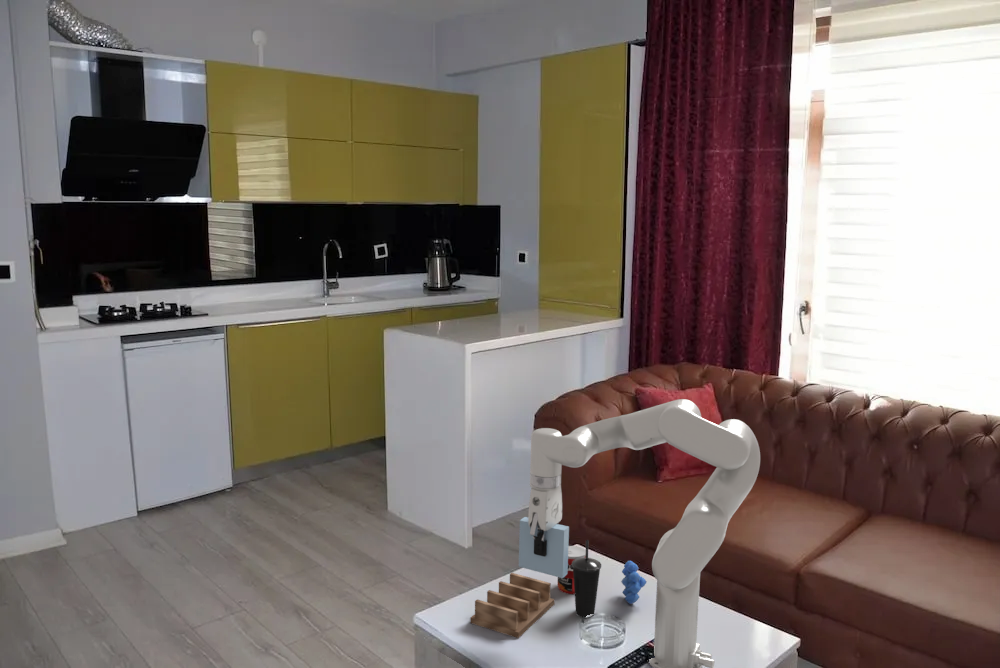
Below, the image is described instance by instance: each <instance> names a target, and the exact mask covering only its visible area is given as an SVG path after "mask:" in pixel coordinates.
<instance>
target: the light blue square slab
mask: <svg viewBox="0 0 1000 668" xmlns="http://www.w3.org/2000/svg"><path fill="white" fill-rule="evenodd" d="M538 526H539V525H538ZM530 531H531V528H530V527H529V522H528V517H527V516H524V517H522V518H521V519H519V531H518V532H519V535H518V536H519V538H518V539H519V540H518V541H519V542H518V546H519V547H518V567H519V568H522V569H526V570H531V571H533V572H538V573H541V574H545V575H549V576H553V577H557V578H558V577H560V578H564V577H565V576H566V575H567V574H568V546H570V543H569V539H570V526H568V525H563V524H559V523H557V524H556V525H555V526H553V527H552V528H551V529H549V530H548V531H546V539H545V540H547V555H546V556H545V557H544V556H540V555H536V554H534V539H533V536H532V535H530ZM538 532H541V534H542V531H540V530H538Z"/></svg>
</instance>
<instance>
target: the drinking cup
mask: <svg viewBox="0 0 1000 668" xmlns="http://www.w3.org/2000/svg"><path fill="white" fill-rule="evenodd" d="M589 542H590V541H589V539H586V540H585V550H586V557H583V558H578V559H575V560H573V562H572V567H573V575H574V591H575V594H574V607H575V614H576V615H577V616H578V617H580V618H583V617H586V616H587V615H590V614H594V615H595V610H596V604H597V596H598V595H597V594H598V589H599V587H598V586H599V580H600V579H599V578H600V573H601V569H602V563H601V562H600V560H597V559H594V558H591V557H589Z"/></svg>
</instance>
